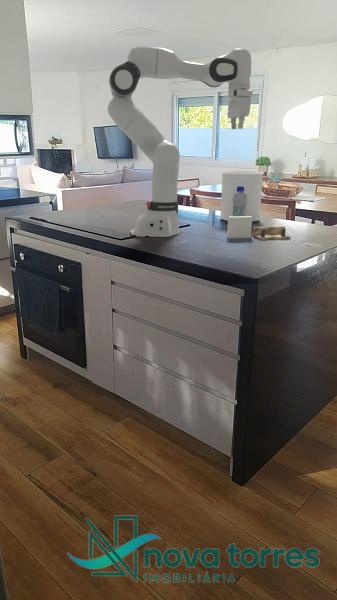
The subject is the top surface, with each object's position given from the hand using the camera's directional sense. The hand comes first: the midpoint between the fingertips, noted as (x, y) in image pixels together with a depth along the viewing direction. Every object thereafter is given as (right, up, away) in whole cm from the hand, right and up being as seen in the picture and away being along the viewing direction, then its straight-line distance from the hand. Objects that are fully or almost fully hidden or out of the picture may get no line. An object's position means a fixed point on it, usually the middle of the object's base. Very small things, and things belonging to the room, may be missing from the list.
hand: (236, 129), depth 190 cm
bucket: (+8, -31, +45) cm, 56 cm away
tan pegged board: (+16, -45, +5) cm, 48 cm away
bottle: (+4, -39, +22) cm, 45 cm away
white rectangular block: (+2, -46, +4) cm, 46 cm away
